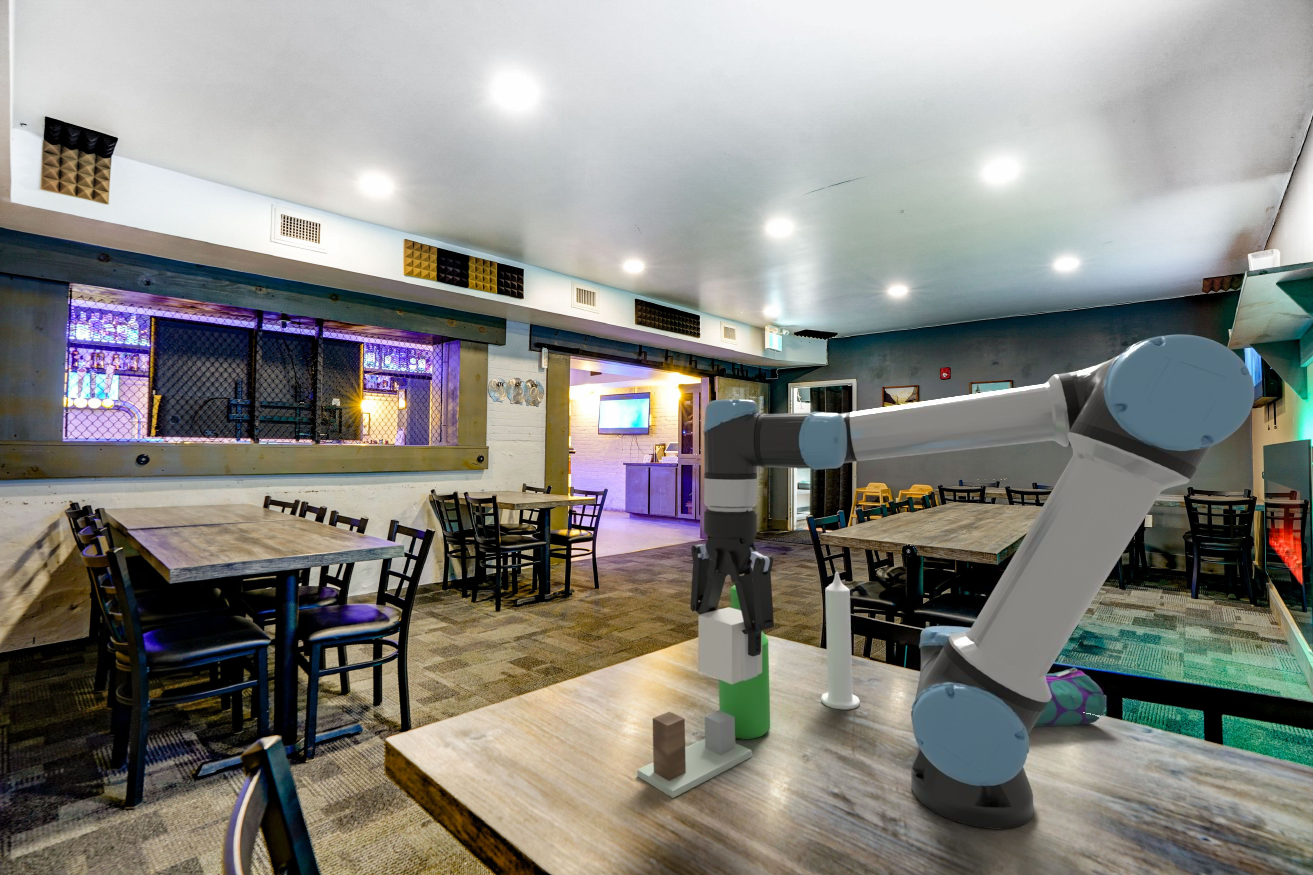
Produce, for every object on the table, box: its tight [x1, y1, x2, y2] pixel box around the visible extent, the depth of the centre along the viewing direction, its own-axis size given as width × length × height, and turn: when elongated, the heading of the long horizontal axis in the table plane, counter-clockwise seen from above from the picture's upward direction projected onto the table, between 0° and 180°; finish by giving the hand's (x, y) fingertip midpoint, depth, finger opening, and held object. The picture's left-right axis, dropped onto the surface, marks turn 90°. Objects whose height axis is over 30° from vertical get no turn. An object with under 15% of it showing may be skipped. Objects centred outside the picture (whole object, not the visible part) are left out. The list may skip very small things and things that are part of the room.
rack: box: [636, 709, 753, 799], centre depth 95 cm, size 8×17×6 cm, turn 131°
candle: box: [820, 571, 860, 711], centre depth 118 cm, size 7×7×25 cm
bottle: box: [718, 584, 771, 740], centre depth 107 cm, size 9×9×25 cm
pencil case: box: [1033, 667, 1106, 728], centre depth 107 cm, size 21×9×10 cm, turn 98°
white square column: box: [697, 606, 762, 684], centre depth 87 cm, size 6×6×8 cm
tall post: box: [652, 711, 686, 781], centre depth 92 cm, size 3×3×8 cm
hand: (729, 669), depth 87 cm, fingers closed on white square column, 6 cm apart
